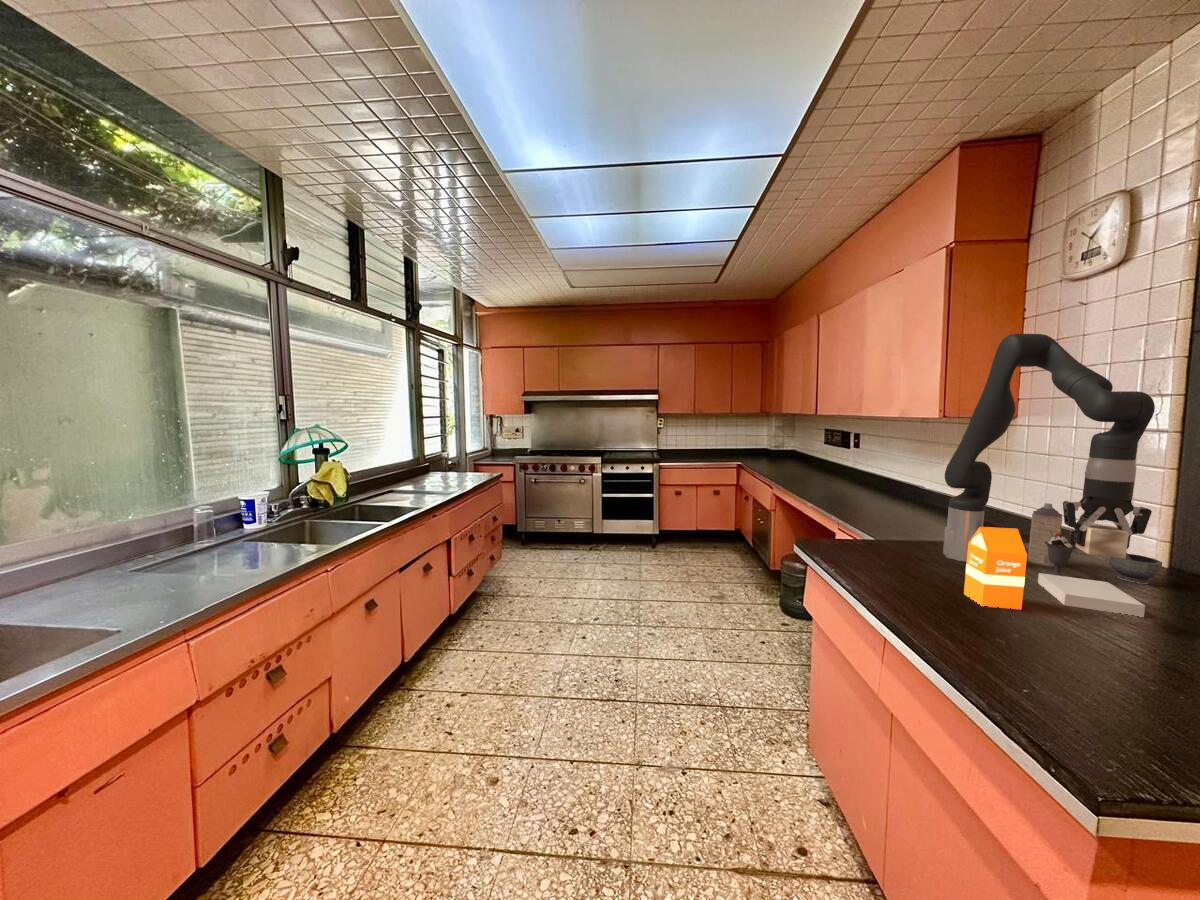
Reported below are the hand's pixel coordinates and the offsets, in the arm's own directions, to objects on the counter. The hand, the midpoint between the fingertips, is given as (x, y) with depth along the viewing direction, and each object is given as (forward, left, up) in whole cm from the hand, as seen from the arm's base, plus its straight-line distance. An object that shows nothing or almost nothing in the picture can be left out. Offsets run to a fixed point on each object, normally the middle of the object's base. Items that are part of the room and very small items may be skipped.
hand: (1100, 547), depth 102 cm
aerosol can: (+6, +46, -18) cm, 50 cm away
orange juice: (-18, +2, -18) cm, 26 cm away
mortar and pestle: (+23, +40, -18) cm, 50 cm away
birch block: (0, 0, -1) cm, 1 cm away
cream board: (+5, +16, -18) cm, 25 cm away
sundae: (+5, +33, -18) cm, 38 cm away
